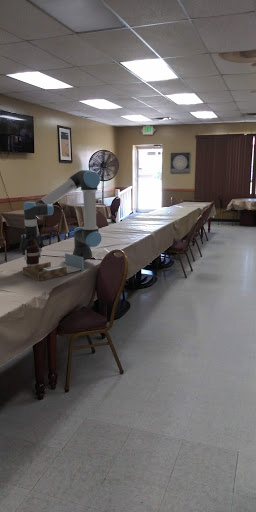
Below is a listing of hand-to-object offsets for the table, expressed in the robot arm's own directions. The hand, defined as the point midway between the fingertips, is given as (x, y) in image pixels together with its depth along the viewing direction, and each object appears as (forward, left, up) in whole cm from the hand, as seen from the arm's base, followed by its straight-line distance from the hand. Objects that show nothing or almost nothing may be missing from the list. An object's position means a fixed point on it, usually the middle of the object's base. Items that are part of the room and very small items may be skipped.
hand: (32, 258), depth 263 cm
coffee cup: (0, 0, -7) cm, 7 cm away
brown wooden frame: (+3, +18, -7) cm, 20 cm away
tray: (-11, +18, -7) cm, 22 cm away
